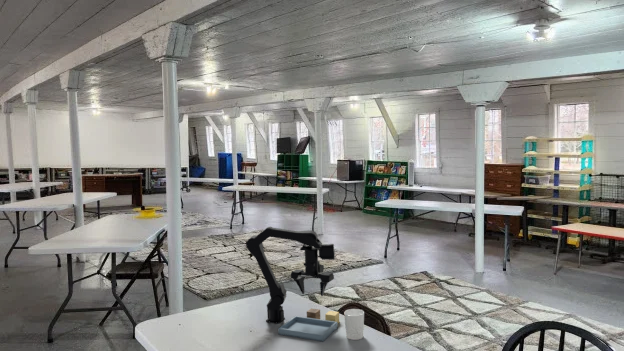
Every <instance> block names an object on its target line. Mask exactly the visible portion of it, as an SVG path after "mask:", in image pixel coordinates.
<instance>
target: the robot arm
mask: <svg viewBox="0 0 624 351" xmlns="http://www.w3.org/2000/svg"><path fill="white" fill-rule="evenodd" d="M270 237H271V238H277V239H283V240H289V241H295V242H298V243H300V244H301V245H302V246H301V247H300V249H299V250H300V251H304V263H303V266H304V270H305V271H304V270H303V269H297V268H296V269H294V270H292V271H291V272H290V279H293V281H294V282H295V283H296V285H297V286H298V288H299V290H300V291H301V294H302V295H304V294H305V278H311V279H319V280H320V282H319V287H320V296H321V297H323V296H324V294H325V291H326V288H327V286H328V284H329V283H330V282H331V281H332V282H333V280H334V279H335V274H334V273H333V272H328V271H327V272H326V271H325V270H324V269H325V265H324V264H321V263H320V260H319V258H320V259H321V260H322V261H327V260H329V261H333V260H335V259H336V255H335V254H336V250H335V245H334V243H328V244H323V243H322V241H321V240H320V239H319V238H318V234H317V232H316V231H315V230H293V229H292V230H291V229H285V228H284V229H283V228H279V227H278V228H277V227H272V226H267V227H266V228H265V229H264V230H263V231H261V232H260V233H258V234H257V235H255V234H254V235H252V236H251V237H249V238H248V239H247V241H246V243H245V246H246V248H247V250H248V251H249V253H250V254H251V255H252V256H253V258H254V259H255V261H256V263H257V264H258V266H259V269H260V271H261V273H262V275H263V277H264V280H265V282H266V284H267V286H268V289H269V290H268V291H269V296H270V298H269V300H268V303H267V304H266V310H267V312H266V313H267V319H265V323H266V322H267V323H272V324H273V323H274V324H280V323H281V322H283V321H284V320H285V319H286V317H285V310H284V309H283V308H284V307H283V304H284V303H285V300H286V298H287V290H286V288H285V284H284V283H281V284H280V283H279V282H278V280H277V278H276V276H275V274H274V272H273V269H272V267H271V265H270V263H269V261H268V258H267V256H266V254H265V249H264V243H263V242H265V241H266V240H268V238H270ZM324 271H325V272H324Z"/></svg>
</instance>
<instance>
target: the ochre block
mask: <svg viewBox="0 0 624 351" xmlns="http://www.w3.org/2000/svg"><path fill="white" fill-rule="evenodd" d="M324 317H325V319H324V320H327V321H334V322H337V325H338V324H339V323H340V311H334V310H329V311H327V312H326V313H325V316H324Z"/></svg>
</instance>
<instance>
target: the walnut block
mask: <svg viewBox="0 0 624 351" xmlns="http://www.w3.org/2000/svg"><path fill="white" fill-rule="evenodd" d="M306 317H307V318H314V319H321V309H320V308H319V309H318V308H309V309H308V310H307V311H306Z"/></svg>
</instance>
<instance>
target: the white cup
mask: <svg viewBox="0 0 624 351" xmlns="http://www.w3.org/2000/svg"><path fill="white" fill-rule="evenodd" d="M343 314H344V325H345V333H346V334H345V335H346V336H345V337H346V338H347V339H348V340H352V341H353V340H354V341H358V340H362V339H363V338H364V330H365V328H364V327H365V326H364V325H365V311H364V310H363V309H359V308H350V309H346V310H345V311H344V312H343Z"/></svg>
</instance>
